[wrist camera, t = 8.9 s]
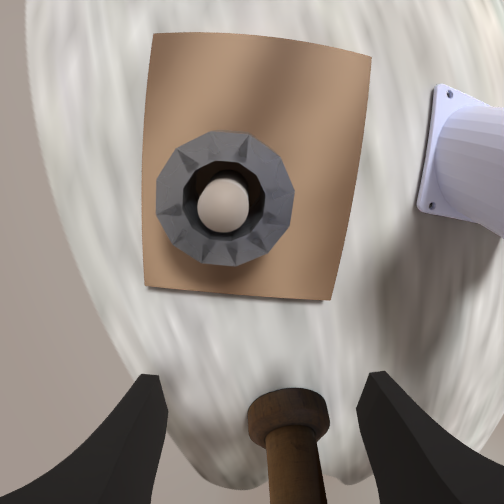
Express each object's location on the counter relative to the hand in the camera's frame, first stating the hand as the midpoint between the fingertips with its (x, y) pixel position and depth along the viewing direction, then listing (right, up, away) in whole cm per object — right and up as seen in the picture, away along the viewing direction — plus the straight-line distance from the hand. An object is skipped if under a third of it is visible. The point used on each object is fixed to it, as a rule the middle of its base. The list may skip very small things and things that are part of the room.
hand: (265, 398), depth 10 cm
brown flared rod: (+3, -8, +14) cm, 17 cm away
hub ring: (-2, +8, +6) cm, 10 cm away
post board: (-1, +9, +6) cm, 11 cm away
